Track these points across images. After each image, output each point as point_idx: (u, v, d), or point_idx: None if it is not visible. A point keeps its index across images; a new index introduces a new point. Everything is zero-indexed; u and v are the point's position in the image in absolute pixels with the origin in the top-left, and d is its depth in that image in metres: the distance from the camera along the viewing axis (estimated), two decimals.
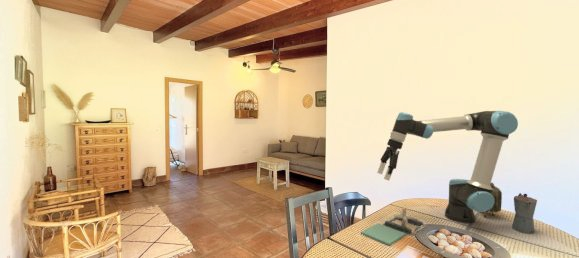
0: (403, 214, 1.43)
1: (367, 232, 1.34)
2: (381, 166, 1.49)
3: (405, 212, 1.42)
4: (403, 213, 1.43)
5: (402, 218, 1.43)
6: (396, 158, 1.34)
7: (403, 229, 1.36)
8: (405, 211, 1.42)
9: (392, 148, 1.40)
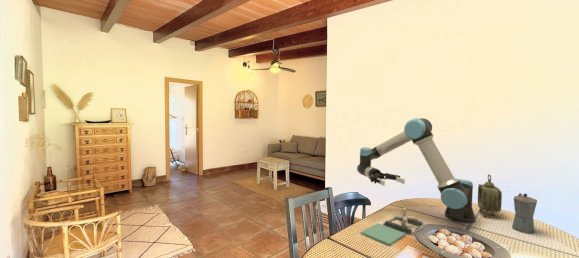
0: (403, 214, 1.43)
1: (367, 232, 1.34)
2: (398, 180, 1.57)
3: (405, 212, 1.42)
4: (403, 213, 1.43)
5: (402, 218, 1.43)
6: (370, 176, 1.61)
7: (403, 229, 1.36)
8: (405, 211, 1.42)
9: None
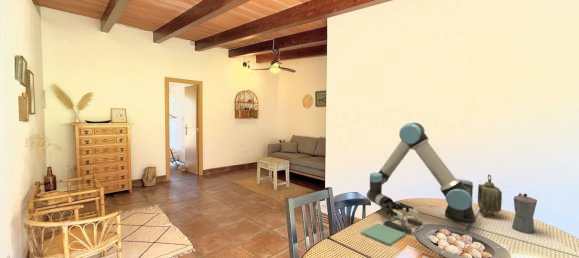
0: (403, 214, 1.43)
1: (367, 232, 1.34)
2: (411, 213, 1.44)
3: (405, 212, 1.42)
4: (403, 213, 1.43)
5: (402, 218, 1.43)
6: (384, 207, 1.49)
7: (403, 229, 1.36)
8: (405, 211, 1.42)
9: None
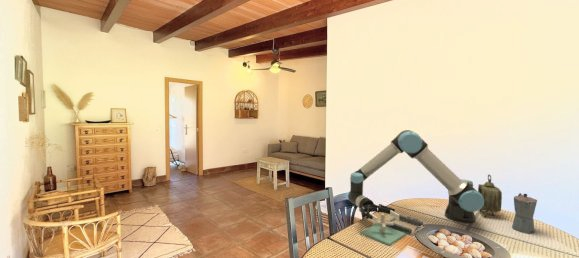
0: (382, 220, 1.32)
1: (367, 232, 1.34)
2: (392, 215, 1.35)
3: (384, 218, 1.32)
4: (382, 219, 1.32)
5: (381, 224, 1.33)
6: (361, 210, 1.40)
7: (403, 229, 1.36)
8: (384, 217, 1.32)
9: None
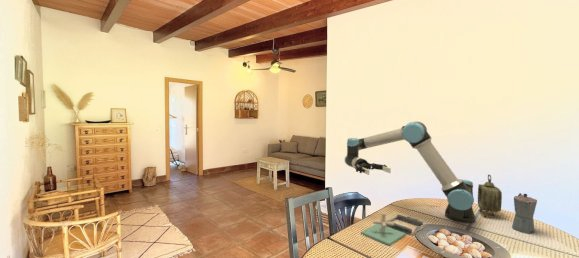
0: (382, 219, 1.33)
1: (367, 232, 1.34)
2: (384, 170, 1.51)
3: (384, 217, 1.32)
4: (382, 218, 1.33)
5: None
6: (355, 166, 1.55)
7: (403, 229, 1.36)
8: (384, 216, 1.32)
9: None
